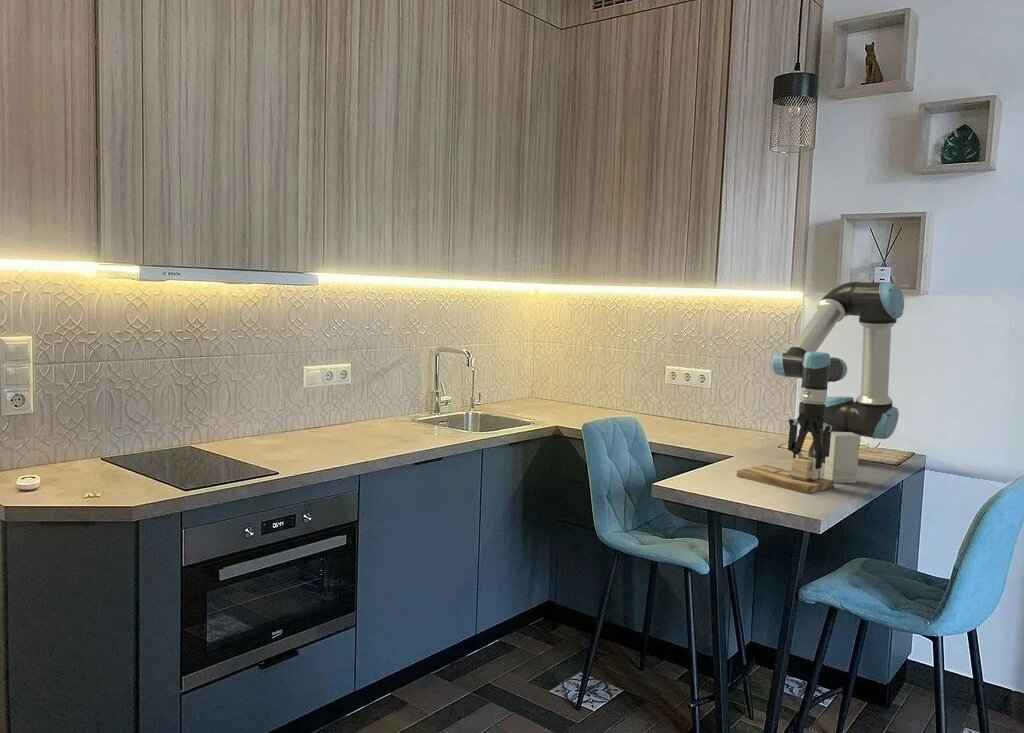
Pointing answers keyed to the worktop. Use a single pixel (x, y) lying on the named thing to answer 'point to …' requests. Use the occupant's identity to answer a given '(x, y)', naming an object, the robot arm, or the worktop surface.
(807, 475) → the block
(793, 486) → the board
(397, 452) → the worktop surface
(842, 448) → the skincare box
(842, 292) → the robot arm
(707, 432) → the worktop surface
